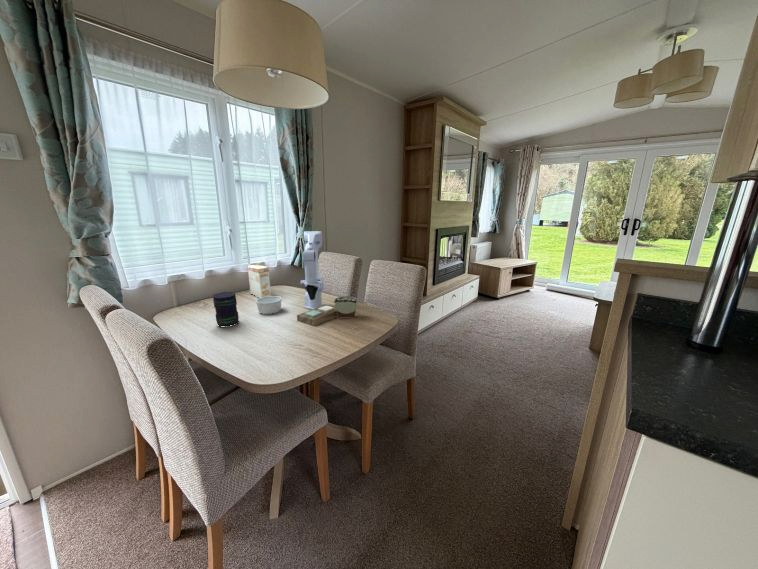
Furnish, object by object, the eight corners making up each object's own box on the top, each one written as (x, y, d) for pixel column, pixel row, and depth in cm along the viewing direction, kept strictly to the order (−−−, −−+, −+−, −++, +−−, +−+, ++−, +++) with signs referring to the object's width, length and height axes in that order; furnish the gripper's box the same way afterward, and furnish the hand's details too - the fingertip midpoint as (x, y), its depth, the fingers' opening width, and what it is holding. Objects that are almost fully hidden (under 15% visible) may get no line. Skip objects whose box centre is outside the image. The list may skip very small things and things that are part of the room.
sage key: (305, 317, 147) (304, 313, 147) (313, 314, 152) (313, 310, 152) (313, 320, 144) (312, 315, 144) (322, 316, 149) (321, 312, 148)
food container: (359, 314, 157) (359, 296, 154) (357, 318, 151) (357, 299, 148) (337, 313, 158) (336, 295, 156) (334, 317, 152) (333, 299, 150)
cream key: (318, 313, 155) (317, 308, 154) (326, 309, 159) (326, 305, 159) (326, 315, 151) (326, 310, 151) (334, 312, 156) (334, 307, 155)
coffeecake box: (271, 296, 188) (268, 266, 184) (261, 299, 183) (257, 268, 178) (260, 292, 198) (257, 264, 193) (250, 294, 193) (246, 265, 188)
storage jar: (234, 318, 151) (231, 290, 147) (242, 323, 144) (239, 294, 140) (213, 323, 144) (209, 294, 140) (221, 329, 137) (216, 298, 133)
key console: (297, 320, 148) (296, 315, 147) (325, 309, 163) (325, 304, 163) (313, 326, 141) (313, 320, 140) (341, 314, 157) (341, 308, 156)
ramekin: (277, 315, 155) (276, 303, 153) (252, 315, 155) (251, 302, 154) (285, 307, 168) (284, 295, 166) (263, 307, 168) (261, 295, 166)
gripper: (295, 273, 149) (296, 298, 152) (314, 277, 141) (316, 303, 144) (305, 271, 154) (307, 295, 158) (325, 274, 146) (326, 300, 150)
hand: (312, 299), depth 151 cm, fingers closed
